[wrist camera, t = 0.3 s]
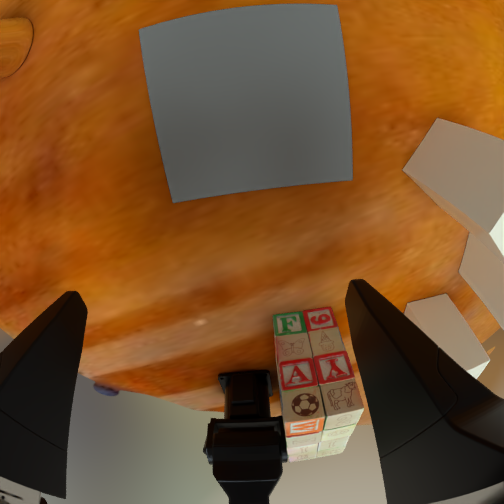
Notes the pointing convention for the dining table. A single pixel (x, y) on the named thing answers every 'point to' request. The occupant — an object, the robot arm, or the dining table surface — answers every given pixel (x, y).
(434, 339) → the long cream brick
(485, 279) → the tall white pillar block
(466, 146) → the white rectangular prism
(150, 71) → the charcoal mat
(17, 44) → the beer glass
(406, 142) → the dining table surface
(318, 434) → the stack of blocks
